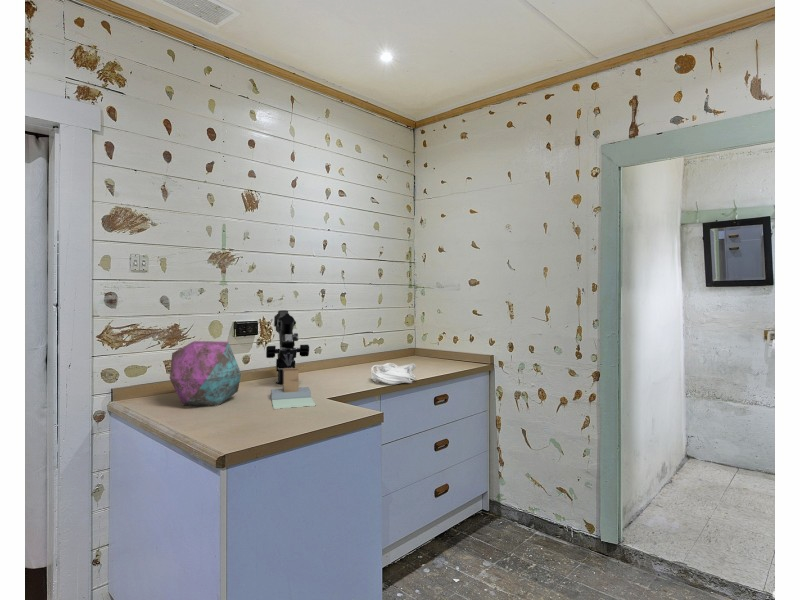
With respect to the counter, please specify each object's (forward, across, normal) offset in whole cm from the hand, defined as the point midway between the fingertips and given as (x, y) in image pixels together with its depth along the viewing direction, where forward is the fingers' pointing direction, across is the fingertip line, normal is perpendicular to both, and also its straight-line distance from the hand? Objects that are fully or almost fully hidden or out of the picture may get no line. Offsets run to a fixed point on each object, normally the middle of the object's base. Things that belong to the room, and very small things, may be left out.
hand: (289, 366), depth 210 cm
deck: (+13, 0, +4) cm, 14 cm away
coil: (0, +52, +18) cm, 55 cm away
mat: (+22, 0, -5) cm, 22 cm away
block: (+12, 0, +1) cm, 12 cm away
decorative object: (+13, -34, +4) cm, 36 cm away
